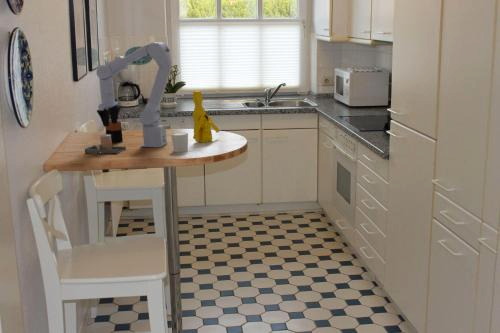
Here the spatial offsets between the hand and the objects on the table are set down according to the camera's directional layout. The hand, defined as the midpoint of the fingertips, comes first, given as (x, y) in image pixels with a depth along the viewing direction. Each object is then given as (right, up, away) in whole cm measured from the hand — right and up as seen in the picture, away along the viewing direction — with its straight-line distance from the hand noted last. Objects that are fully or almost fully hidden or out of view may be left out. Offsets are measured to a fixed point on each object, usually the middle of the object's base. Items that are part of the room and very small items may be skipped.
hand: (110, 124), depth 273 cm
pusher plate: (-1, -12, -10) cm, 15 cm away
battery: (-1, -7, +13) cm, 14 cm away
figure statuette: (+40, -7, +3) cm, 41 cm away
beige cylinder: (+32, -12, -15) cm, 37 cm away
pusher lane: (+1, -12, -10) cm, 16 cm away
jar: (+1, -12, -10) cm, 16 cm away
